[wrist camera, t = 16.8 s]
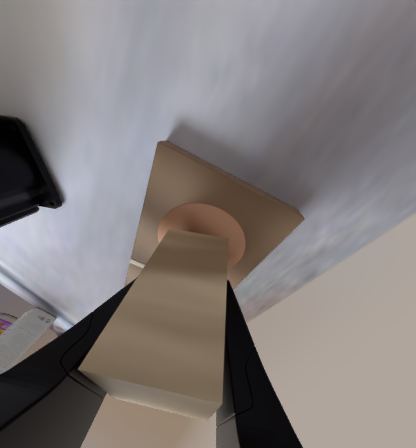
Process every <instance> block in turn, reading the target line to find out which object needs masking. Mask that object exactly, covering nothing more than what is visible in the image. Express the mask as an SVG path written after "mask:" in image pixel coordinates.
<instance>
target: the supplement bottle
mask: <svg viewBox="0 0 416 448" xmlns="http://www.w3.org/2000/svg"><path fill="white" fill-rule="evenodd" d="M17 319H18V318H17V317H15V316H12V315H9V314H5V313H0V335H1V334H2V333H3V332H4V331H5V330H6V329H7V328H8V327H9V326H11V325H12V324H13V323H14V322H15V321H16V320H17Z"/></svg>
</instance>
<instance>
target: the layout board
mask: <svg viewBox="0 0 416 448" xmlns="http://www.w3.org/2000/svg"><path fill="white" fill-rule="evenodd" d="M304 219H305V218H304V217H303V216H302V215H301V213H300V212H299V211H298V210H296V209H294V208H293V207H291V206H289V205H287V204H285V203H283V202H281V201H279V200H277V199H276V198H274V197H272V196H270V195H268V194H266V193H264V192H262V191H260V190H259V189H257V188H255V187H253V186H251V185H249V184H247V183H245V182H243V181H242V180H240V179H238V178H236V177H234V176H232V175H230V174H228V173H226V172H225V171H223V170H221V169H219V168H217V167H215V166H213V165H211V164H209V163H208V162H206V161H204V160H202V159H200V158H198V157H196V156H194V155H192V154H191V153H189V152H187V151H185V150H183V149H181V148H179V147H177V146H175V145H174V144H172V143H170V142H168V141H160V142H158V143H157V148H156V152H155V156H154V161H153V165H152V169H151V174H150V178H149V182H148V187H147V191H146V195H145V200H144V204H143V208H142V213H141V217H140V221H139V226H138V230H137V234H136V239H135V243H134V247H133V252H132V256H131V260H130V265H129V269H128V274H127V278H126V282H125V286H126V285H128V284H129V283H130V282H132V281H133V280H134V279H136V278H137V277H138V276H139V274H140V273H141V271H142V270H143V268H144V266H145V265H146V263H147V262H148V260H149V259H150V257H151V256H152V254H153V253H154V251H155V250H156V248H157V246H158V245H159V243H160V242H161V240H162V239H163V237H164V236H165V234H166V233H167V231H168V229H169V228H171V229H176V230H182V231H188V232H194V233H200V234H206V235H212V236H218V237H224V238H229V241H228V267H227V280H229V281H230V284H231V286H232V289H234V288H235V287H236V286H237V285H238V284H239V283H240V282H241V281H242V280H243V279H244V278H245V277H246V276H247V275H248V274H249V273H250V272H251V271H252V270H253V269H254V268H255V267H256V266H257V265H258V264H259V263H260V262H261V261H262V260H263V259H264V258H265V257H266V256H267V255H268V254H269V253H270V252H272V251H273V250H274V249H275V248H276V247H277V246H278V245H279V244H280V243H281V242H282V241H283V240H284V239H285V238H286V237H287V236H288V235H289V234H290V233H291V232H292V231H293V230H294V229H295V228H296V227H297V226H298V225H299V224H300V223H301V222H302V221H303V220H304Z"/></svg>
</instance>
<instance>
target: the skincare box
mask: <svg viewBox="0 0 416 448" xmlns="http://www.w3.org/2000/svg"><path fill="white" fill-rule="evenodd" d="M55 320H56V318H55V317H53V316H52V315H50V314H48V313H46V312H45V311H43V310H41V309H39V308H33V309H31V310H28V311H26V312H25V313H24V314H23V315H22V316H21V317H20V318H18V319H17V320H16V321H15V322H14V323H13V324H12V325H11V326H9V327H8V328H7V329H6V330H5V331H4V332H3V333H2V334H1V335H0V374H1V373H3V372H5V371H7V370H9V369H10V368H12V367H13V366H14V365H15V364H16V363H17V361H18V360H19V359H20V358H21V357H22V356H23V355H24V354H25V353H26V352H27V351H28V349H29V348H30V347H31V346H32V345H33V344H34V343H35V342H36V341H37V340H38V339H39V337H40V336H41V335H42V334H43V333H44V332H45V331H46V330H47V329H48V328H49V327H50V325H51V324H52V323H53V322H54V321H55Z"/></svg>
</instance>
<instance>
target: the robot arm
mask: <svg viewBox="0 0 416 448" xmlns="http://www.w3.org/2000/svg"><path fill="white" fill-rule="evenodd" d="M38 206H42V207H48V208H54V209H56V208H58V207H61V206H62V202H61V200H60V198H59V196H58V194H57V192H56V190H55V188H54V186H53V183H52V181H51V179H50V177H49V175H48V173H47V171H46V169H45V167H44V165H43V162H42V160H41V158H40V156H39V154H38V152H37V150H36V148H35V146H34V144H33V141H32V139H31V137H30V135H29V133H28V131H27V129H26V127H25V125H24V124H23V122H22V121H21V120H19V119H18V118H16V117H12V116H4V115H0V227H2V226H5V225H7V224H10V223H12V222H14V221H17V220H19V219H22V218H24V217H26V216H29V215H31V214H34V213H36V212H38V210H39V207H38ZM136 279H137V278H136ZM136 279H134V280H133V281H132V282H130V283H129V284H128V285H126V286H125V287H124V288H123V289H121V290H120V291H119V292H117V293H116V294H115V295H113V296H112V297H111V298H110V299H108V300H107V301H106V302H104V303H103V304H102V305H101V306H99V307H98V308H97V309H95V310H94V311H93V312H91V313H90V314H89V315H87V316H86V317H85V318H84V319H82V320H81V321H80V322H78V323H77V324H75V325H74V326H73V327H71V328H70V329H69V330H67V331H66V332H64V333H63V334H61V335H60V336H58V337H57V338H56V339H54V340H53V341H51V342H50V343H48V344H47V345H45V346H44V347H42V348H41V349H39V350H38V351H36V352H35V353H33V354H32V355H30V356H29V357H27V358H26V359H24V360H23V361H21V362H20V363H18V364H17V365H15V366H14V367H12V368H10V369H9V370H7V371H5V372H3V373H1V374H0V448H80V447H81V445H82V443H83V441H84V439H85V437H86V435H87V432H88V430H89V428H90V426H91V424H92V422H93V420H94V418H95V416H96V414H97V412H98V410H99V408H100V406H101V404H102V402H103V398H104V397H105V395H106V393H107V392H105V391H104V390H103V389H102V388H100V387H99V386H98V385H97V384H95V383H94V382H93V381H92V380H90V379H89V378H88V377H87V376H85V375H84V374H83V373H82V372H80V371H79V370H78V368H79V367H80V365H81V364H82V362H83V360H84V359H85V357H86V356H87V354H88V353H89V351H90V350H91V348H92V347H93V345H94V344H95V342H96V340H97V339H98V337H99V336H100V334H101V333H102V331H103V330H104V328H105V327H106V325H107V323H108V322H109V320H110V319H111V317H112V316H113V314H114V313H115V311H116V310H117V308H118V307H119V305H120V303H121V302H122V300H123V299H124V297H125V296H126V294H127V293H128V291H129V290H130V288H131V287H132V285H133V283H134V282H135V280H136ZM216 412H217V413H216V415H217V417H216V421H217V422H216V425H217V428H216V448H303V447H302V445H301V443H300V441H299V439H298V437H297V435H296V434H295V432H294V430H293V428H292V426H291V423H290V422H289V419H288V417H287V415H286V413H285V411H284V409H283V407H282V405H281V403H280V401H279V399H278V397H277V395H276V393H275V391H274V389H273V387H272V385H271V382H270V380H269V378H268V376H267V374H266V372H265V370H264V367H263V365H262V362H261V360H260V358H259V355H258V352H257V350H256V348H255V346H254V343H253V340H252V337H251V335H250V332H249V330H248V327H247V324H246V322H245V319H244V317H243V314H242V312H241V309H240V307H239V304H238V301H237V299H236V296H235V294H234V291H233V289H232V286H231V284H230V281H229V280H227V292H226V318H225V344H224V370H223V396H222V405H221V406H220V407H219V408H218V409H217V410H216Z"/></svg>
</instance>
